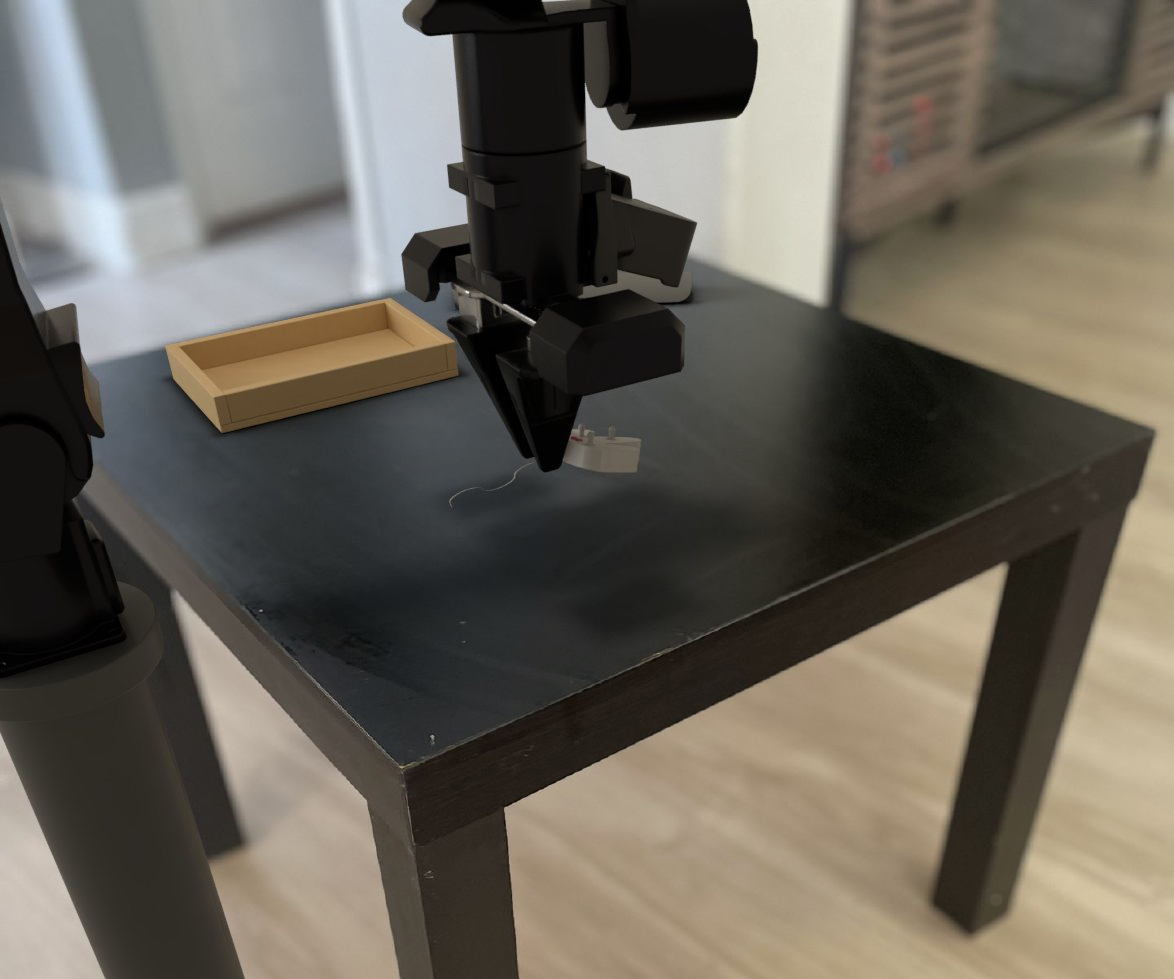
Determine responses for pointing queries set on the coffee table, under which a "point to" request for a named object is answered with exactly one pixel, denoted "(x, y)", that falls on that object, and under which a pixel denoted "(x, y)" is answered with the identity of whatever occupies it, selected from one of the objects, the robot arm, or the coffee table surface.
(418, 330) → the serving tray
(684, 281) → the gray half cylinder
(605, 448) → the game controller
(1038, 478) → the coffee table surface
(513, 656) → the coffee table surface
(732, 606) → the coffee table surface
